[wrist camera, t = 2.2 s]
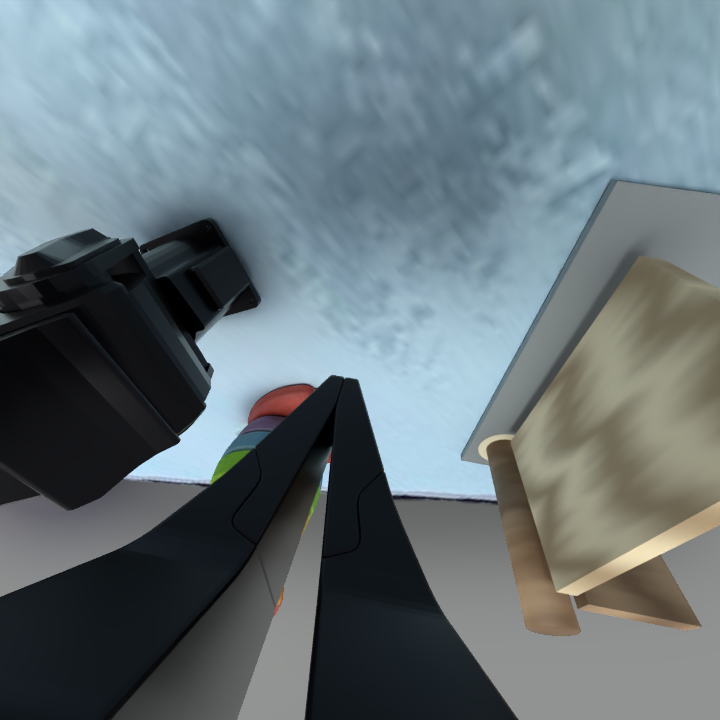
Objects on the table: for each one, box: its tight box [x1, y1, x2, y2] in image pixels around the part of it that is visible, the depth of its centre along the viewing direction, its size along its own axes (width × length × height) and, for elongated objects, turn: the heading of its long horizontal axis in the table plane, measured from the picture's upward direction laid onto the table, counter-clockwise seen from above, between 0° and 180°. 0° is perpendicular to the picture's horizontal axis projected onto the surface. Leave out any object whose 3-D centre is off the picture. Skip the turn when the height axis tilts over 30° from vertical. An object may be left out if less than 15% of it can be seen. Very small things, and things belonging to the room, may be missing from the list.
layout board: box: [461, 180, 720, 465], centre depth 23 cm, size 18×25×1 cm
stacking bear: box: [210, 385, 332, 616], centre depth 25 cm, size 11×10×18 cm
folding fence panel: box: [510, 256, 720, 596], centre depth 17 cm, size 16×1×11 cm, turn 174°
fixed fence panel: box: [486, 439, 702, 636], centre depth 23 cm, size 11×3×13 cm, turn 84°
